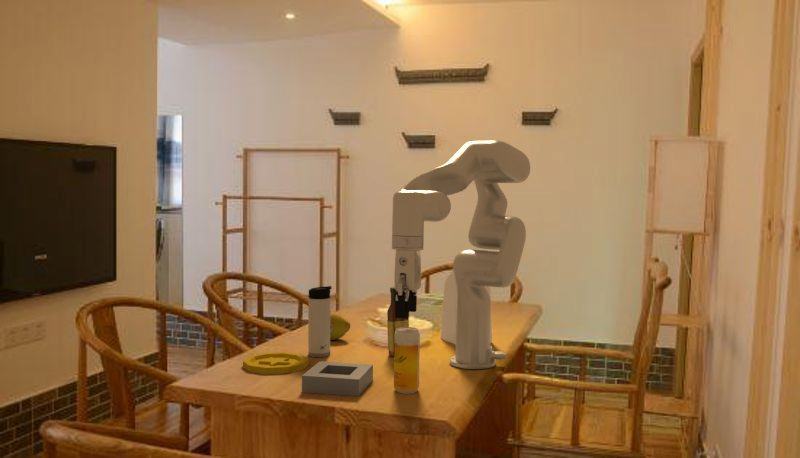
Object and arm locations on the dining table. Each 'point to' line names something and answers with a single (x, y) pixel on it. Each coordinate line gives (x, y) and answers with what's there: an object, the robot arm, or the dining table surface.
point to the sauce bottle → (394, 322)
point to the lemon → (338, 327)
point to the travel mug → (319, 322)
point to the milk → (452, 310)
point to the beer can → (406, 360)
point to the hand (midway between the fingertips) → (405, 314)
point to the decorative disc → (275, 362)
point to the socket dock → (337, 378)
